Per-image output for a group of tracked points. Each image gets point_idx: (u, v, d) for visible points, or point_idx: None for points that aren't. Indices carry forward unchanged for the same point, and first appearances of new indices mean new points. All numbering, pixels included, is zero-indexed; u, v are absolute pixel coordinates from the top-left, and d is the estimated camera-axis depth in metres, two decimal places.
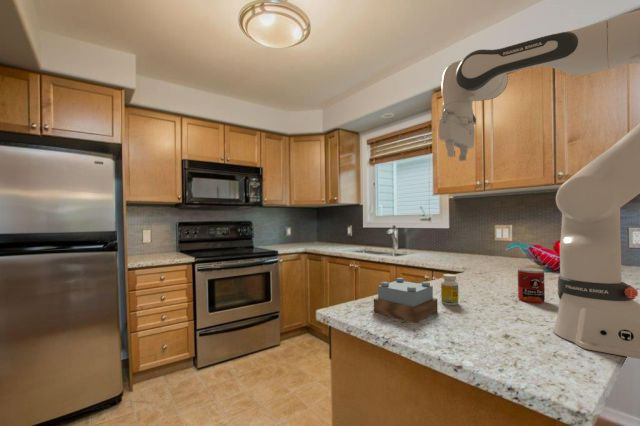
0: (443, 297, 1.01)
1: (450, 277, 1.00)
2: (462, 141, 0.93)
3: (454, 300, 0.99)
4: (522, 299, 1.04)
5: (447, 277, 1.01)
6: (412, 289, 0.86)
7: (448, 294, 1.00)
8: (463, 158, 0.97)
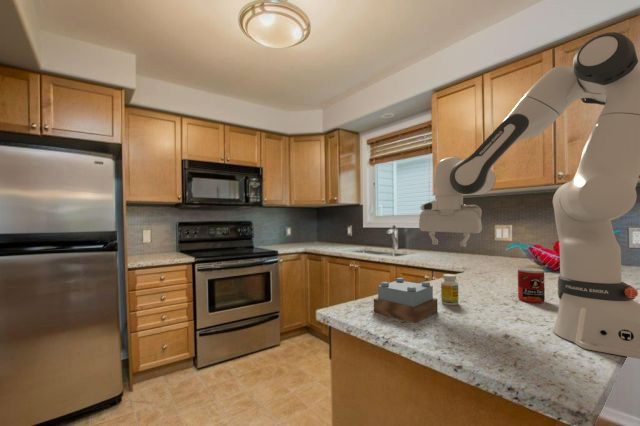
0: (443, 297, 1.01)
1: (450, 277, 1.00)
2: None
3: (454, 300, 0.99)
4: (522, 299, 1.04)
5: (447, 277, 1.01)
6: (412, 289, 0.86)
7: (448, 294, 1.00)
8: (437, 242, 1.06)
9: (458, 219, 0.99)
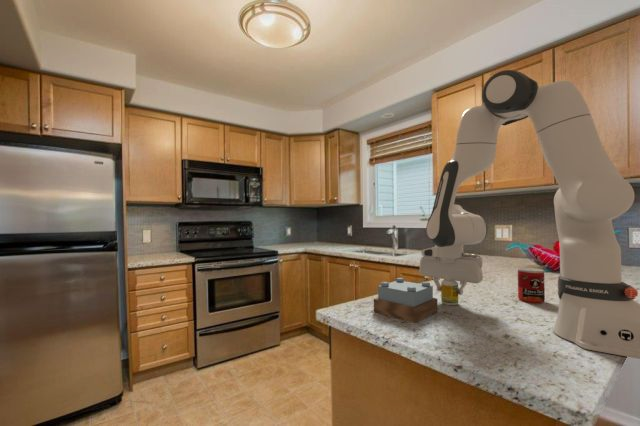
0: (443, 297, 1.01)
1: None
2: None
3: (454, 300, 0.99)
4: (522, 299, 1.04)
5: (447, 277, 1.01)
6: (412, 289, 0.86)
7: (448, 294, 1.00)
8: None
9: (459, 268, 0.99)
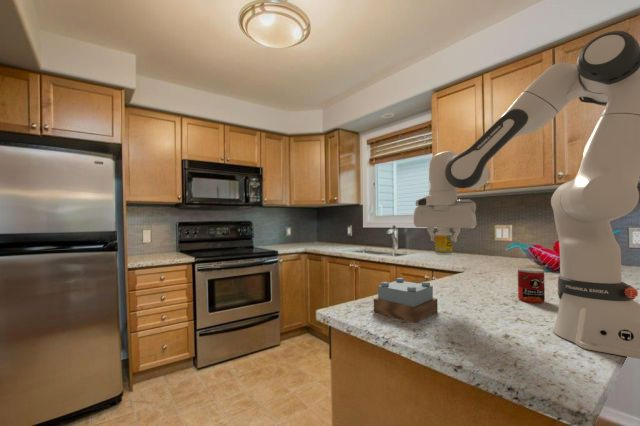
0: (437, 248, 1.00)
1: (444, 227, 0.99)
2: None
3: (447, 250, 0.99)
4: (522, 299, 1.04)
5: (441, 227, 1.00)
6: (412, 289, 0.86)
7: (441, 244, 0.99)
8: None
9: (452, 214, 0.98)
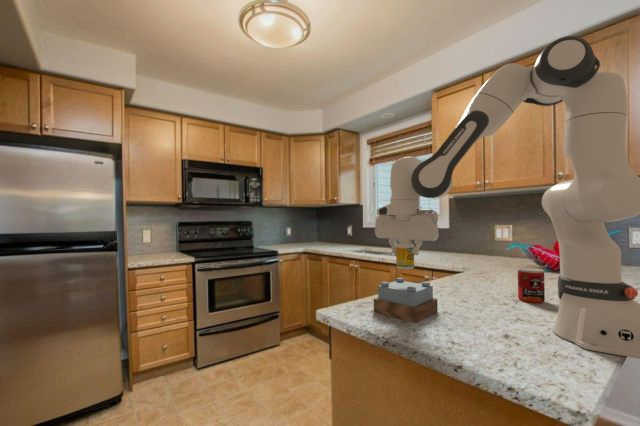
0: (397, 261, 0.92)
1: (405, 239, 0.91)
2: None
3: (408, 264, 0.91)
4: (522, 299, 1.04)
5: (402, 239, 0.92)
6: (412, 289, 0.86)
7: (402, 257, 0.91)
8: None
9: (413, 225, 0.90)
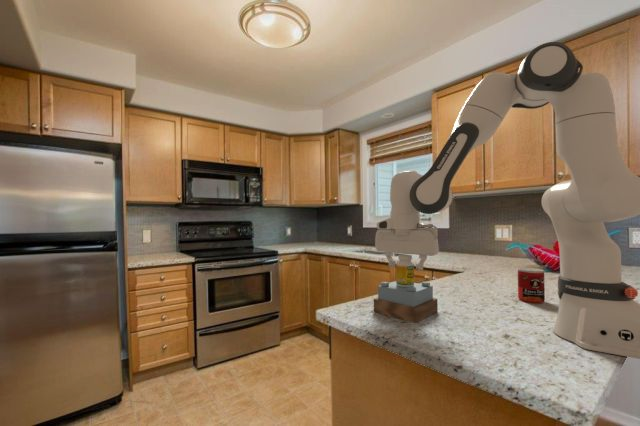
0: (397, 279, 0.92)
1: (405, 257, 0.91)
2: None
3: (408, 282, 0.91)
4: (522, 299, 1.04)
5: (402, 257, 0.92)
6: (412, 289, 0.86)
7: (402, 275, 0.91)
8: (394, 264, 0.96)
9: (413, 240, 0.90)
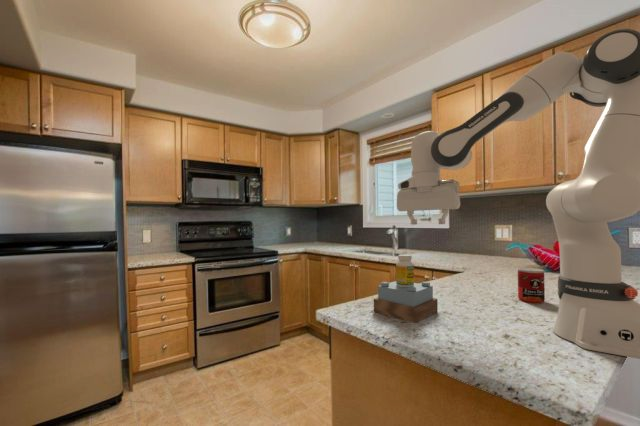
0: (397, 279, 0.92)
1: (404, 257, 0.91)
2: None
3: (408, 282, 0.91)
4: (522, 299, 1.04)
5: (401, 257, 0.92)
6: (412, 289, 0.86)
7: (402, 275, 0.91)
8: (416, 222, 1.01)
9: (436, 195, 0.94)
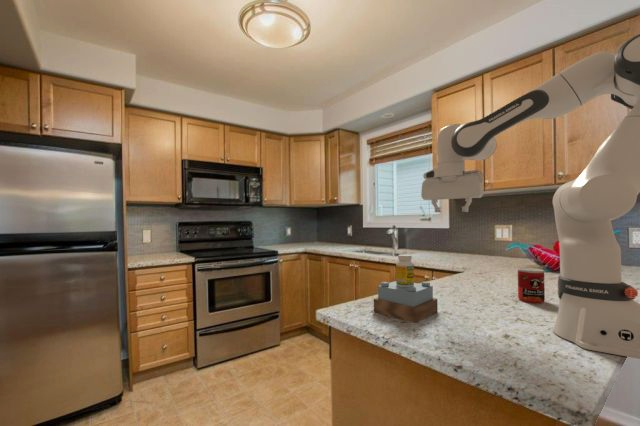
0: (397, 279, 0.92)
1: (404, 257, 0.91)
2: None
3: (408, 282, 0.91)
4: (522, 299, 1.04)
5: (401, 257, 0.92)
6: (412, 289, 0.86)
7: (402, 275, 0.91)
8: (440, 210, 1.07)
9: (460, 185, 1.00)
